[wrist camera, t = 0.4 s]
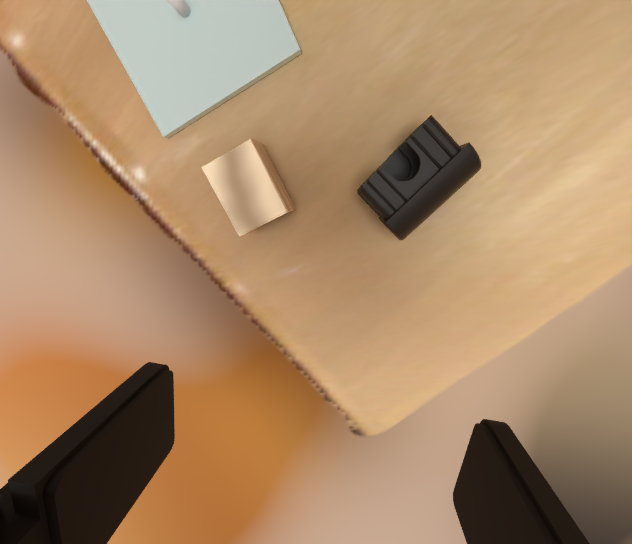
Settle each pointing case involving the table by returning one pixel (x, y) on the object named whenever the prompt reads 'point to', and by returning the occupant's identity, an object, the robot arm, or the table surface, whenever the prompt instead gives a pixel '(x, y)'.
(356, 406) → the table surface
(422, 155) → the end cap
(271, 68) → the base plate
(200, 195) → the table surface
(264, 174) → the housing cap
